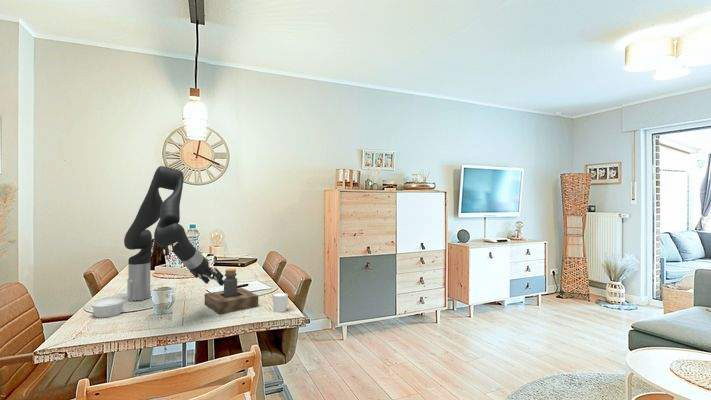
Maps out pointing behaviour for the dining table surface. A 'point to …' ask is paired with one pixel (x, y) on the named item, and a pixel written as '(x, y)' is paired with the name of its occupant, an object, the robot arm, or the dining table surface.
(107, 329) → the dining table surface
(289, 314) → the dining table surface
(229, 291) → the bottle
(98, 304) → the ramekin
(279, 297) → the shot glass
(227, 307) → the holder block
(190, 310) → the dining table surface
